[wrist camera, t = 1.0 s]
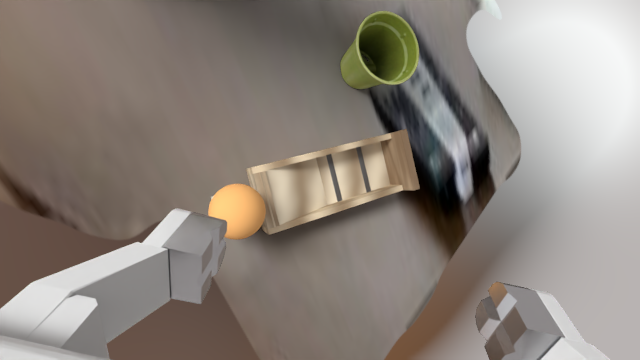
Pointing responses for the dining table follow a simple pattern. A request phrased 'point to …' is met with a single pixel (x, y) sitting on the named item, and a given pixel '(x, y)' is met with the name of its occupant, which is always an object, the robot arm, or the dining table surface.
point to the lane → (333, 179)
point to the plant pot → (381, 52)
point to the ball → (238, 210)
